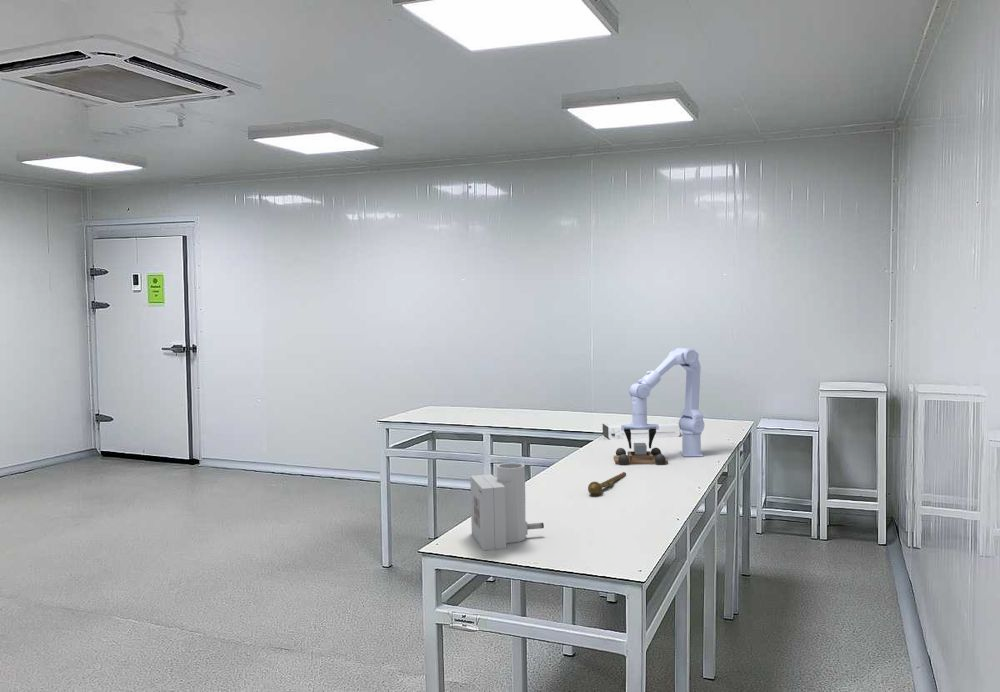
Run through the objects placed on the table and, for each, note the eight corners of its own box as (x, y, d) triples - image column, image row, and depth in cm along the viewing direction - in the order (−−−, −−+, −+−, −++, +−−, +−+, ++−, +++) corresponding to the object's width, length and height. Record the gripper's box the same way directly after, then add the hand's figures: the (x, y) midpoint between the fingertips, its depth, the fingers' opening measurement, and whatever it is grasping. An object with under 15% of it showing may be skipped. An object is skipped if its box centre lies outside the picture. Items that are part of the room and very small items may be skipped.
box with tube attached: (470, 533, 227) (469, 462, 226) (535, 528, 232) (533, 458, 230) (482, 550, 212) (481, 474, 210) (551, 544, 216) (550, 469, 215)
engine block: (633, 456, 326) (633, 442, 325) (645, 456, 325) (644, 442, 325) (635, 459, 320) (634, 445, 319) (646, 459, 319) (646, 445, 319)
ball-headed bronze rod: (617, 479, 299) (629, 481, 297) (584, 496, 267) (598, 498, 265) (618, 466, 298) (631, 468, 296) (585, 481, 267) (599, 484, 265)
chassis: (613, 457, 331) (613, 447, 331) (663, 457, 330) (663, 447, 329) (616, 465, 316) (615, 455, 316) (668, 464, 314) (668, 454, 314)
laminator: (673, 433, 388) (672, 420, 388) (681, 438, 376) (681, 424, 376) (602, 436, 385) (602, 423, 385) (608, 440, 373) (608, 427, 372)
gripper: (621, 415, 318) (622, 450, 319) (659, 415, 317) (660, 449, 318) (620, 413, 325) (621, 446, 326) (657, 412, 324) (657, 446, 325)
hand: (640, 448), depth 322 cm, fingers open, 7 cm apart
